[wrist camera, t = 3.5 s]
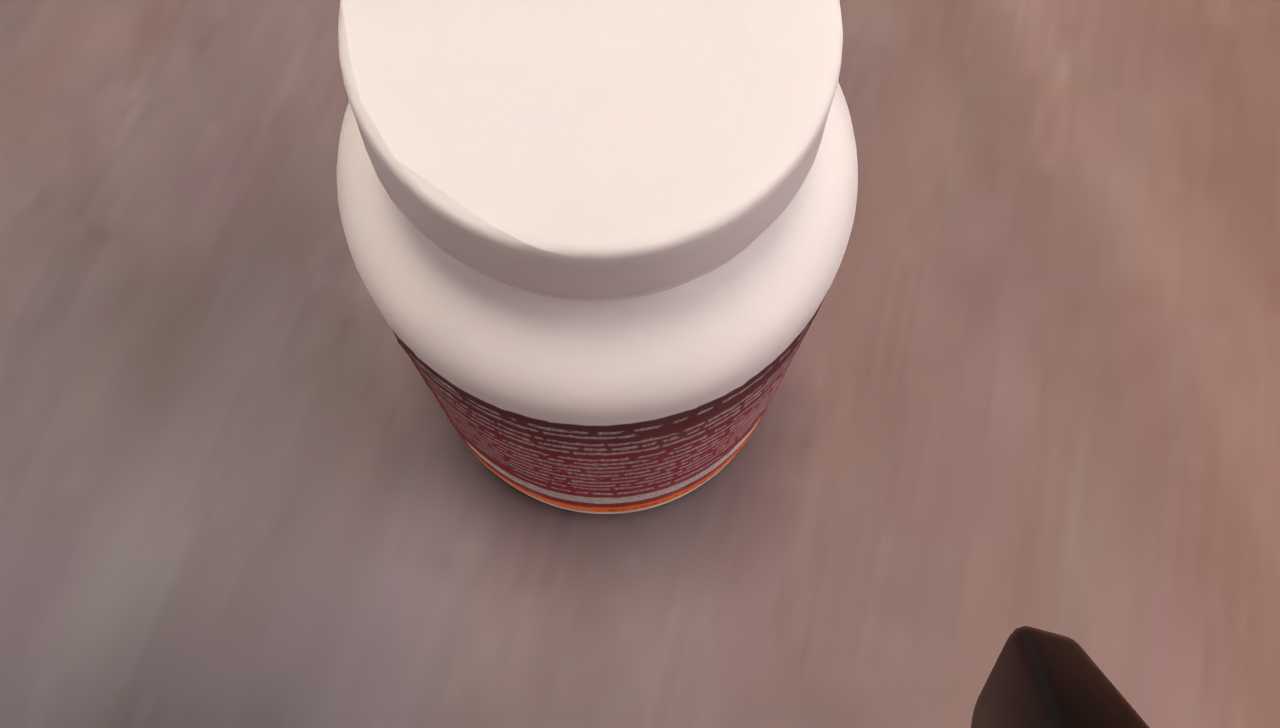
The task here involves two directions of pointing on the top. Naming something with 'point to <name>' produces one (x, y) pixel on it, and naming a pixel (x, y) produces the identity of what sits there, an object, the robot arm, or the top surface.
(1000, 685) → the robot arm
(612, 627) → the top surface
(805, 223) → the pill bottle
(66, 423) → the top surface
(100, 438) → the top surface
